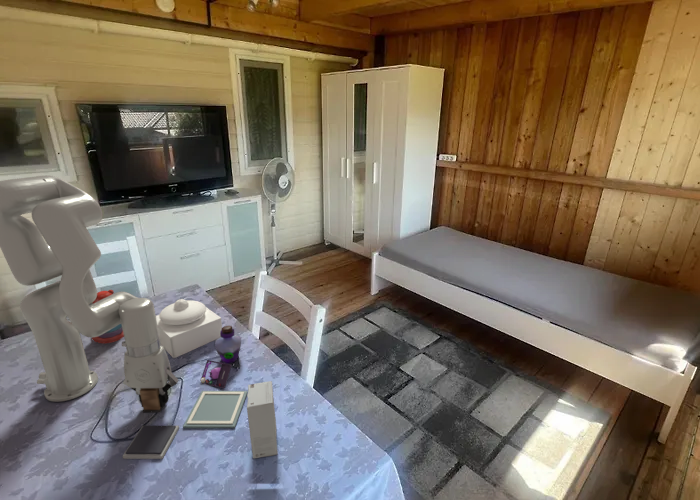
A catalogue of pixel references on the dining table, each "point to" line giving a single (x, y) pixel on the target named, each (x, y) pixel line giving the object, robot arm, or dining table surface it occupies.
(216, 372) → the purple toy box
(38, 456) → the dining table surface
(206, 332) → the butter dish
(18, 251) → the robot arm
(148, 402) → the stamp
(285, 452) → the dining table surface
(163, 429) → the ink pad
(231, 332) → the potion bottle
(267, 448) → the skincare box
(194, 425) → the board
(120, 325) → the stacking bear
